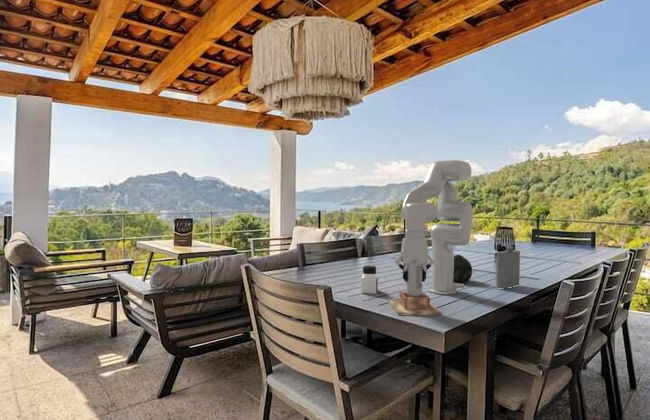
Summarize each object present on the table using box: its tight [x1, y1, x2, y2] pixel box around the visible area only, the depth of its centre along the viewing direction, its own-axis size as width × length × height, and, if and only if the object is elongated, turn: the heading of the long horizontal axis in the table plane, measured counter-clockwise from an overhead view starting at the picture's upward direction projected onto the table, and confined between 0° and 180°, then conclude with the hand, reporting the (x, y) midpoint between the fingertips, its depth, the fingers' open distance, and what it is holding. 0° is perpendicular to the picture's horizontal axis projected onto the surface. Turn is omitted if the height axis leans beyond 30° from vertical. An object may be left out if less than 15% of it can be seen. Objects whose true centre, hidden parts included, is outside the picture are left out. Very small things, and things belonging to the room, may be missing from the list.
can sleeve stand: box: [389, 291, 442, 316], centre depth 148 cm, size 16×16×6 cm
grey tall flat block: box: [495, 245, 521, 288], centre depth 184 cm, size 16×4×20 cm, turn 121°
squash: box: [453, 254, 473, 284], centre depth 198 cm, size 14×15×15 cm
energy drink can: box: [405, 259, 423, 297], centre depth 148 cm, size 6×6×15 cm
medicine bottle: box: [360, 264, 379, 295], centre depth 175 cm, size 7×7×12 cm
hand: (414, 280), depth 148 cm, fingers closed on energy drink can, 6 cm apart
